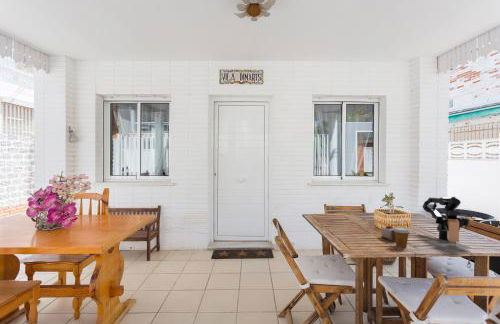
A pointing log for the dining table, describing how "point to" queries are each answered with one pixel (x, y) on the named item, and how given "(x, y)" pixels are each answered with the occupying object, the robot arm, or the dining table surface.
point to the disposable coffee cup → (401, 236)
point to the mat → (447, 245)
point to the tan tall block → (453, 230)
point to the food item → (388, 233)
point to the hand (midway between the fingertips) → (453, 231)
